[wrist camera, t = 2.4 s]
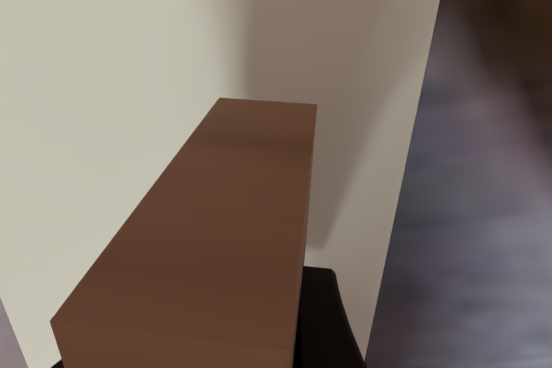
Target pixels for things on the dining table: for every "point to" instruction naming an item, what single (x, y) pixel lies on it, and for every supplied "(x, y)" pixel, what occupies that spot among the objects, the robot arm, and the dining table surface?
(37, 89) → the mat
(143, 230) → the walnut slab
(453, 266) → the dining table surface
